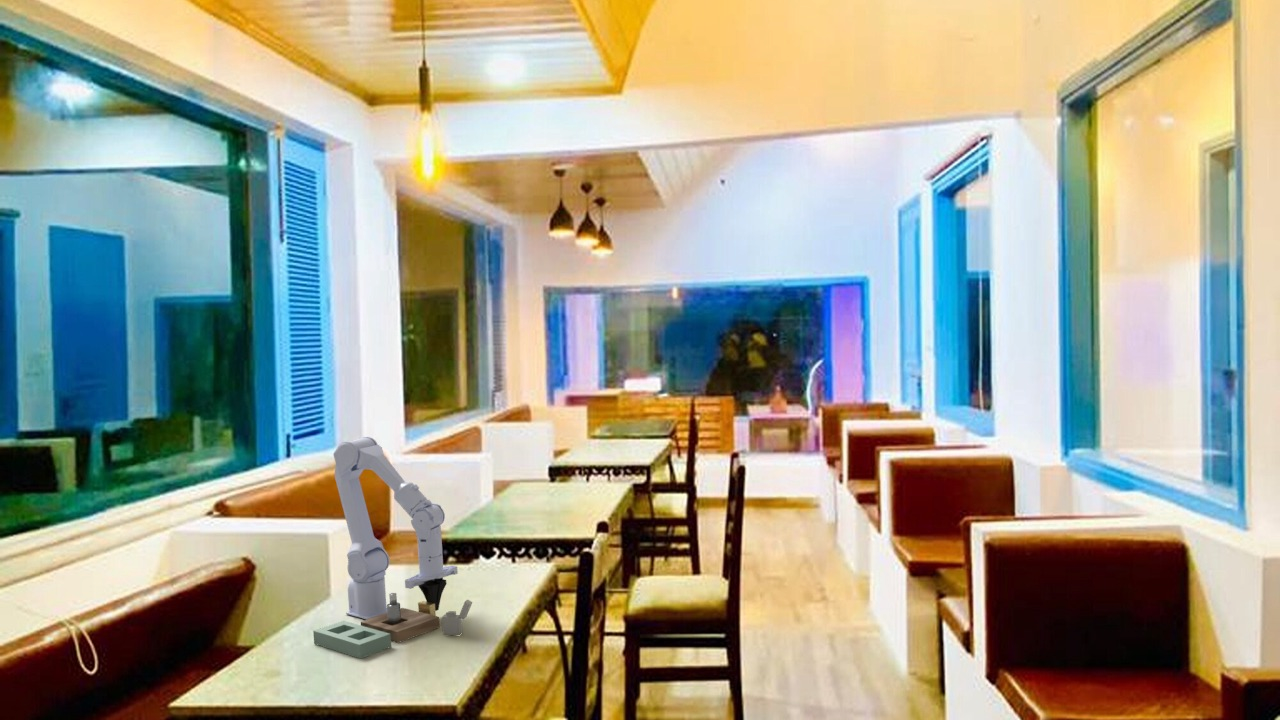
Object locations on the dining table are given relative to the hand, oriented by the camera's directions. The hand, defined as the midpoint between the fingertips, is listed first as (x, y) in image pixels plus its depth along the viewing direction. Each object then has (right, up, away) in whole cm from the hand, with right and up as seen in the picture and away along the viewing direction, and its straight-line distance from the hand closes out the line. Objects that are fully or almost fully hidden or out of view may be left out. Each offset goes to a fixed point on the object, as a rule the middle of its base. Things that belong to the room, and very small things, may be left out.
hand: (433, 610), depth 225 cm
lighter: (+9, -2, -13) cm, 16 cm away
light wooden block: (-2, -2, -3) cm, 4 cm away
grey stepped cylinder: (-7, -3, -9) cm, 12 cm away
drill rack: (-15, -3, -17) cm, 23 cm away
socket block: (-6, -3, -8) cm, 10 cm away
